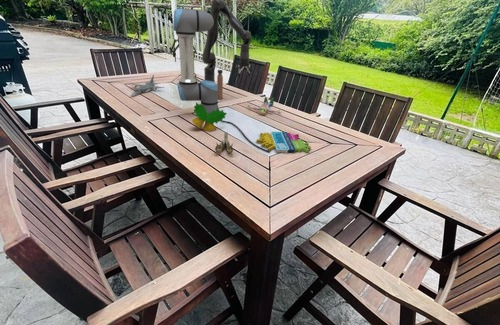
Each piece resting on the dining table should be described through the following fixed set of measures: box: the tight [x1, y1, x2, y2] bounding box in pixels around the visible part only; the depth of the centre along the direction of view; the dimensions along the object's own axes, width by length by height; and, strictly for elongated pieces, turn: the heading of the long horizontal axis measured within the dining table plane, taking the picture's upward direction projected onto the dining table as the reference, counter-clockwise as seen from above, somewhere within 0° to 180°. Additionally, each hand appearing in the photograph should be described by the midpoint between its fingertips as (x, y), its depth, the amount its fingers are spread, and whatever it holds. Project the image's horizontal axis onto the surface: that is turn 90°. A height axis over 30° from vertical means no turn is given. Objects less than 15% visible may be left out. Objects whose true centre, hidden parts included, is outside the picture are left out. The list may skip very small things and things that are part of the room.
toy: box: [246, 95, 283, 116], centre depth 203 cm, size 28×7×30 cm
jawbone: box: [214, 131, 234, 156], centre depth 136 cm, size 9×15×10 cm
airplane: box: [130, 74, 165, 97], centre depth 228 cm, size 38×32×10 cm
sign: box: [256, 131, 312, 154], centre depth 152 cm, size 26×2×30 cm
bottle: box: [216, 72, 224, 100], centre depth 219 cm, size 4×4×23 cm
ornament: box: [191, 101, 228, 132], centre depth 162 cm, size 21×8×15 cm, turn 105°
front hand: (184, 61), depth 211 cm, fingers open, 13 cm apart
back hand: (243, 77), depth 224 cm, fingers open, 8 cm apart
